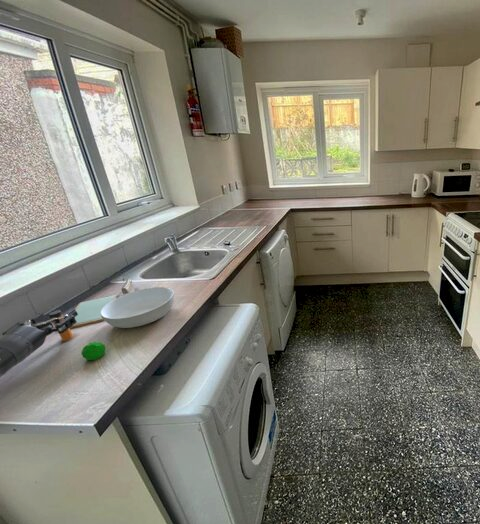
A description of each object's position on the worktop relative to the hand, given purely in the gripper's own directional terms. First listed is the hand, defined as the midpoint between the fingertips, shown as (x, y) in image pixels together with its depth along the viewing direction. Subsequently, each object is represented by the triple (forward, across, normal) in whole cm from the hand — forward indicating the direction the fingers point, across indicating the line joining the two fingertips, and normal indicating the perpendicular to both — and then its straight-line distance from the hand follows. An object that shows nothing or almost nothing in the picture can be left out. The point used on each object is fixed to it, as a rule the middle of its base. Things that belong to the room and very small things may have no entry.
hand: (59, 313), depth 88 cm
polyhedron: (-14, -15, +9) cm, 22 cm away
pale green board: (+16, +2, +9) cm, 18 cm away
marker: (-1, 0, +9) cm, 9 cm away
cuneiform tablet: (+28, -5, +9) cm, 29 cm away
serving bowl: (+6, -19, +9) cm, 22 cm away
